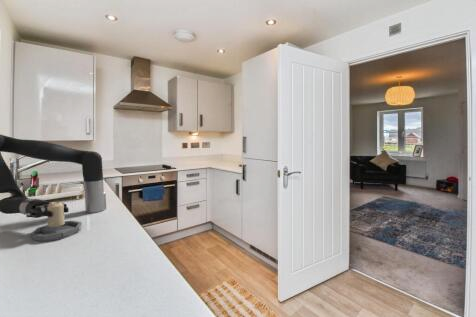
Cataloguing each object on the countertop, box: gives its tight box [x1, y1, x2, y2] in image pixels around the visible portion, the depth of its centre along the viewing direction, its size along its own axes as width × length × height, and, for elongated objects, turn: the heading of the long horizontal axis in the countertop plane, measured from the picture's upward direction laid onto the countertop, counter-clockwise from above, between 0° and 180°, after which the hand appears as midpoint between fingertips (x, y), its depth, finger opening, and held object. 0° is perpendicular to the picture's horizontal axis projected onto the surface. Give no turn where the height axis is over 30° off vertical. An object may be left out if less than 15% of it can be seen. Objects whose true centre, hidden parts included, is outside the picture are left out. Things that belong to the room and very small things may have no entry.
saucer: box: [30, 220, 83, 242], centre depth 100 cm, size 16×16×2 cm
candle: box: [47, 201, 66, 227], centre depth 99 cm, size 6×6×10 cm
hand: (59, 212), depth 98 cm, fingers closed on candle, 5 cm apart
